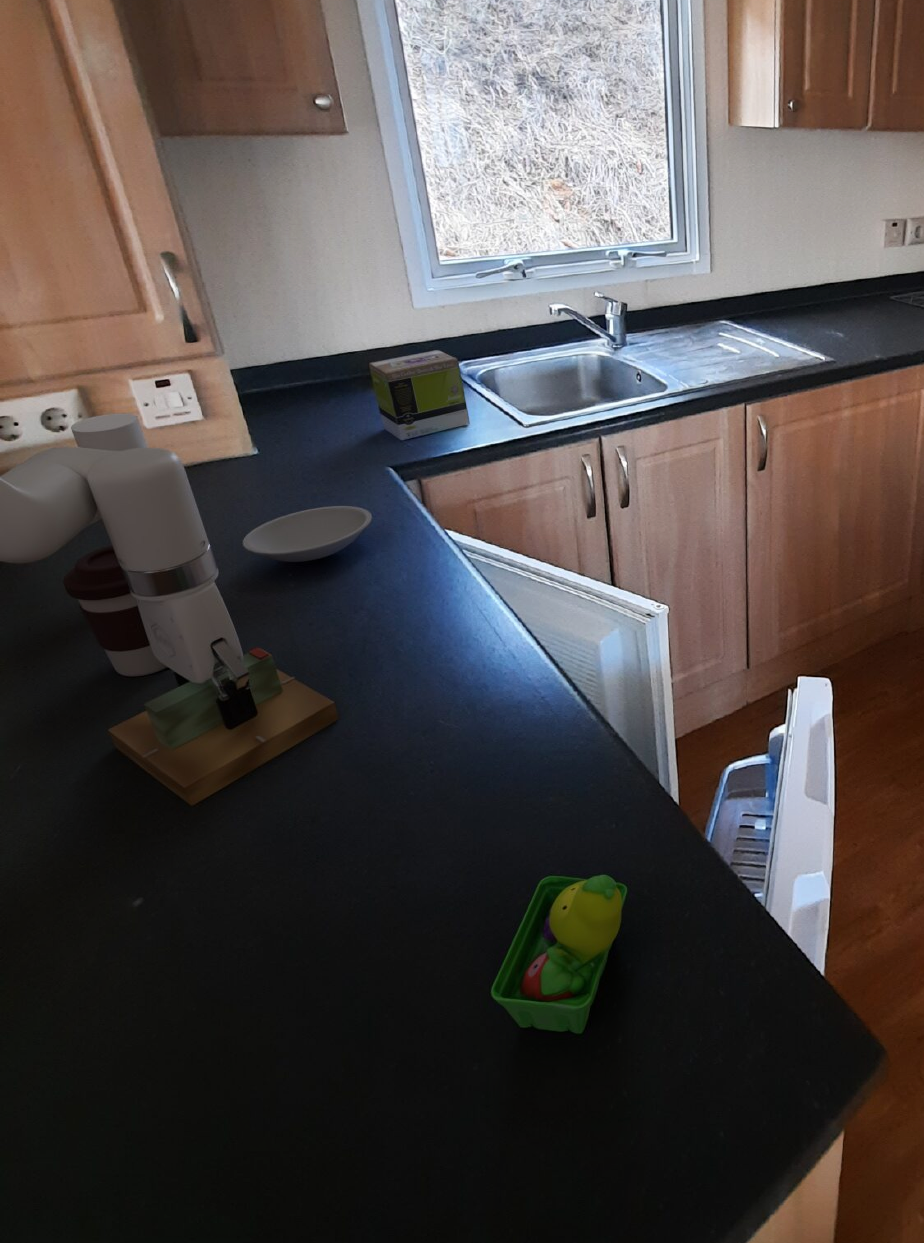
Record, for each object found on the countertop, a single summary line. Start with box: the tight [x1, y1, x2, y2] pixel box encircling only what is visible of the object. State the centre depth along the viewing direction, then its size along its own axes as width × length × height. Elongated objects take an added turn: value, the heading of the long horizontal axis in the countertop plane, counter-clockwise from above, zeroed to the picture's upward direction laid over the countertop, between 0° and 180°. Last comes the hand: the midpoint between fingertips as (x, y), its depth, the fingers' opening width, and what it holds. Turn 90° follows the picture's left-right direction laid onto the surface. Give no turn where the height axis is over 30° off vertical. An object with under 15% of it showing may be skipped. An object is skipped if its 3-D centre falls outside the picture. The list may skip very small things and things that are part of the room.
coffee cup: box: [62, 545, 168, 677], centre depth 105 cm, size 10×10×15 cm
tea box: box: [368, 349, 471, 441], centre depth 180 cm, size 15×10×15 cm, turn 133°
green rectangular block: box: [143, 647, 283, 750], centre depth 94 cm, size 12×3×5 cm, turn 148°
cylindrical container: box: [70, 412, 149, 451], centre depth 118 cm, size 7×7×25 cm
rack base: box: [107, 668, 340, 807], centre depth 96 cm, size 16×16×3 cm
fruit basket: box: [490, 874, 628, 1035], centre depth 68 cm, size 11×9×11 cm
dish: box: [242, 505, 373, 563], centre depth 131 cm, size 18×14×5 cm
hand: (220, 707), depth 95 cm, fingers open, 7 cm apart
